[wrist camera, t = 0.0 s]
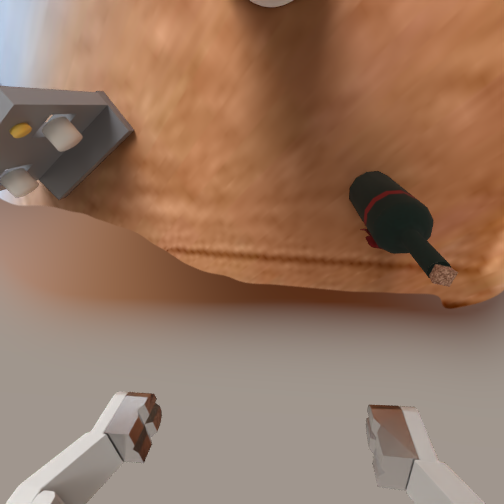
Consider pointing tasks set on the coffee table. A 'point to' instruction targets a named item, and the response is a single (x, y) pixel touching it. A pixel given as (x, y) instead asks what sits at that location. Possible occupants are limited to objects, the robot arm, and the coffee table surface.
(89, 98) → the control panel
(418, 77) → the coffee table surface
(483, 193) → the coffee table surface
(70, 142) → the beige rounded lump
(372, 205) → the wine bottle
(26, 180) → the unlit button
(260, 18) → the coffee table surface
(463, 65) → the coffee table surface
